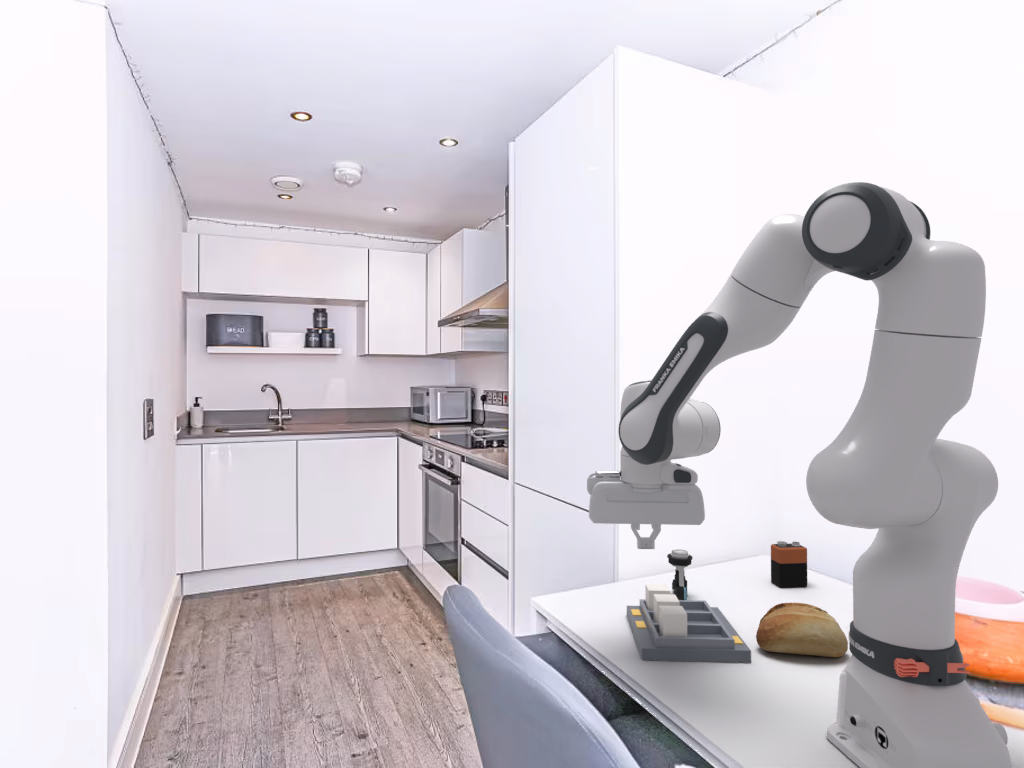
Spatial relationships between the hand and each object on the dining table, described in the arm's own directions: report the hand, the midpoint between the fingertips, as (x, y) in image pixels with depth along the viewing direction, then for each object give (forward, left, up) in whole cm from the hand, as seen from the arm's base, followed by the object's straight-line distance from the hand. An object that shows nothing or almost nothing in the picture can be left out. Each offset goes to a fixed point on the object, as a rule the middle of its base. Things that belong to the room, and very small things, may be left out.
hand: (645, 548), depth 108 cm
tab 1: (+9, -4, -15) cm, 18 cm away
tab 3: (-3, -4, -15) cm, 16 cm away
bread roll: (-2, -26, -17) cm, 31 cm away
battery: (+34, -38, -17) cm, 54 cm away
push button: (+25, -11, -17) cm, 33 cm away
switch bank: (+3, -7, -17) cm, 19 cm away
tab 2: (+3, -4, -15) cm, 16 cm away
